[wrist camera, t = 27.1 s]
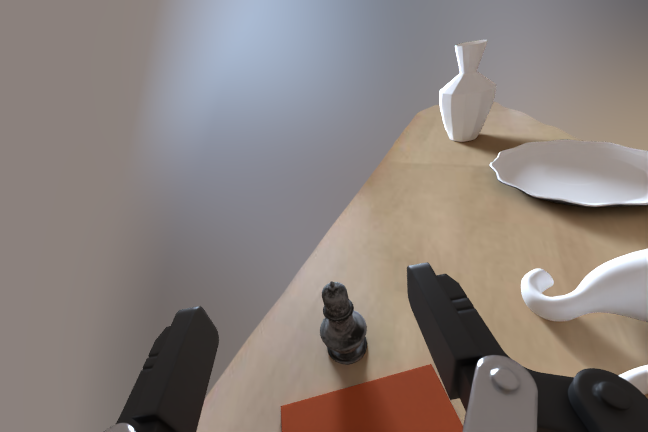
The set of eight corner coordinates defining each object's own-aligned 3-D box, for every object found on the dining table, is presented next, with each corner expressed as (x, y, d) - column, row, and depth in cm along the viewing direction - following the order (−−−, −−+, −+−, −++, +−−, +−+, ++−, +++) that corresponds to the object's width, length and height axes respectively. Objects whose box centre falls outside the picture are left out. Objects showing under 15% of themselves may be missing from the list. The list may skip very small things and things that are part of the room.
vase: (489, 144, 78) (505, 41, 64) (435, 145, 84) (438, 51, 70) (488, 127, 88) (501, 34, 74) (440, 129, 94) (443, 44, 81)
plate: (682, 236, 41) (691, 223, 40) (470, 194, 60) (472, 185, 58) (676, 157, 57) (682, 146, 56) (511, 144, 76) (512, 135, 74)
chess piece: (325, 326, 40) (307, 265, 33) (366, 322, 39) (356, 259, 32) (324, 368, 35) (302, 306, 28) (371, 364, 34) (360, 300, 27)
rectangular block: (431, 365, 33) (431, 363, 32) (466, 436, 27) (467, 434, 27) (281, 407, 32) (280, 406, 32) (284, 489, 26) (283, 488, 26)
